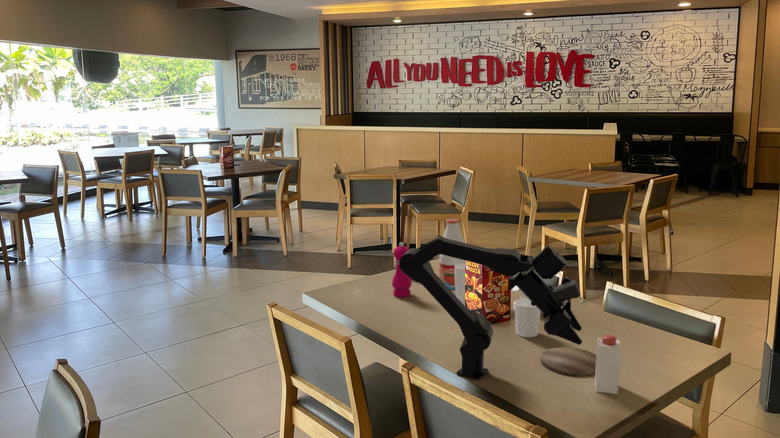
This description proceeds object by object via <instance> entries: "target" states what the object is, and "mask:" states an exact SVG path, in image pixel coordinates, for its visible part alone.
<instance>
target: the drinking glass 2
mask: <svg viewBox="0 0 780 438" xmlns="http://www.w3.org/2000/svg"><path fill="white" fill-rule="evenodd" d="M465 264H466V263H465ZM465 264H457V265H455V290H456V297H457V298H458V299H459V300H460V301H461V302H462V303H463V305H465V301H464V300H465V299H464V298H465Z"/></svg>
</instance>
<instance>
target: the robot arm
mask: <svg viewBox="0 0 780 438" xmlns="http://www.w3.org/2000/svg"><path fill="white" fill-rule="evenodd" d="M408 249H409V250H408V251H407V252H406V253H405V254H404V255H403V256H402V257H401V258H400V261H399V267H400V269H401V271H402V272H403V273H404V274H406V275H407V276H408V277H409V278H411V281H414V282H417V283H418V284H420V285H422V286H423V288H424V289H425V290H426V291H427V292H428V293H429V294H430V295H431V296H432V298H434V299H435V301H436V302H437V303H438V304H439V305H440V306H441V307H442V309H444V310H445V311H446V313H447V314H448V315H449V316H450V317H451V318H452V319H453V320H454V321H455V323H457V325H458V326H459V328H460V331H461V334H462V335H463V337H464V338H463V340H462V342H461V345H460V348H459V352H460V354H461V368H460V369H458V370H457V371H456V375H459V376H461V377H466V378H470V379H473V380H480V379H481V378H483V376H484V375H486V374H487V373H488V372H489V369H488V368H485V367H484V365H485V364H484V361H485V360H484V359H485V358H484V357H485V353H484V352H485V351H486V350H487V349H488V348H489V347H490V346H491V342H492V340H493V335H494V330H493V327H492V322H491V321H489V320H488V319H486V317H485V315H484V314H483V312H480V313H479V314H478V315H477V314H475V313H473V312H472V311H470V309H467V308H466V307H465V306H464V305H463V303H462V302H461V301H460V300H459V299H458V298H457V297H456V296H455V295H454V294H453V293H452V291H451V290H450V289H449V288H448V287H447V286H446V285H445V284H444V283H443V282H442V281H441V279H440V278H439V276H438V275H437V274H436V273H435V271H434V268H433V267H432V265H431V261H432V259H434V258H435V257H437V256H438V255H439V256H440V254H442V255H446V256H450V257H454V258H458V259H462V260H465V262H469V263H470V262H471V263H474V264H478V265H482V266H484V267H486V268H488V269H490V270H492V271H493V272H495V273H497V274H498V275H499V274H500V275H501V276H504V277H507V278H508V279H507V282H508V290H509V291H512V290H511V289H513V288H514V287H515V286H517V287H518V288H519V289H520V290H521V291H522V292H523V293H524V294H525V295H526V296H527V297H528V298H529V299H530V301H531V305H532V306H533V307H534V306H536V307H537V308H538V309H539V310H540V311H541V312H540V313H541V315H542V317H543V318H544V325H543V331H545V333H547V334H548V335H549V336H556V337H557V338H558V337H559V338H561V339H564V340H565V341H569V342H571V343H573V344H576V345H578V346H580V345H581V344H583V340H582V339H581V338H580V336H579V334H578V333H577V332H576V331H578V332H581V331H582V330H583V328H582V326H581V324H580V322H579V320H578V319H577V317H576V315H575V314H574V312H573V311H572V309H571V308H572V299H577V298H580V297H581V290H580V288H579V285H578V282H577V281H576V280H575V279H571V278H570V277H569V276H566V277H563V278H562V279H561V284H558V285H557V286H555V287H554V286H553V285H552V284H550V283H548V284H547V283H546V282H545V281H544V280H547V279H548V280H552V279H553V278H554V277H556V275H557V274H559V273H560V272H561V271H562V270H563V269H564V268H566V267H567V266H568V262H567V260H566V259H565V258H564V257H563V254H561V253H560V252H559V251H557V250H556V249H554V248H553V247H552V246H550V245H548V244H547V245H546V246H544V247H543V249H541V251H540V252H538V254H536V255H535V256H533V255H527V254H521V253H520V252H519V251H518V250H516V249H512V248H502V247H499V248H486V247H483V246H479V245H475V244H471V243H467V242H465V243H463V242H459V241H455V240H451V239H447V238H444V237H443V235H442V236H441V235H438V236H436V237H434V238H433V239H432V240H430V241H429V242H427V243H425V244H423V245H421V246H420V247H418V248H417V247H416V248H415V247H413V248H408Z"/></svg>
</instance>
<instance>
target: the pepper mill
mask: <svg viewBox="0 0 780 438" xmlns="http://www.w3.org/2000/svg"><path fill="white" fill-rule="evenodd" d="M409 249H410V248H408V247H407V246H405V243H404V242H403V241H401V242H399V245H398V246H396V247H395V248H394V250H393V257H394V263H395V266H396V267H395V273H394V275H393V277H392V281H391V286H392V287H393V290H392V292H393V297H397V298H406V297H409V296H411V289H410V288H411V287H412V279H411V278H409V277H408V276H407V275H406V274H404V273H403V272H402V271H401V269H400V267H399V261H400V258H401V257H402V256H403V255H404V254H405V253H406V252H407V251H408V250H409Z"/></svg>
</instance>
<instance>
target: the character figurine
mask: <svg viewBox="0 0 780 438" xmlns="http://www.w3.org/2000/svg"><path fill="white" fill-rule="evenodd" d="M510 291H511V292H513V293H516V292H519V293H521V294H520V296H519V298H520V299H529V298H528V297H527V296H526V295H525V294H524V293H523V292H522V291H521V290H520V289H519V288H518V287H517V286H515V287H514V288H513V289H511V290H510ZM515 301H516V300H514V301H513V310H514V311H515Z"/></svg>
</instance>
